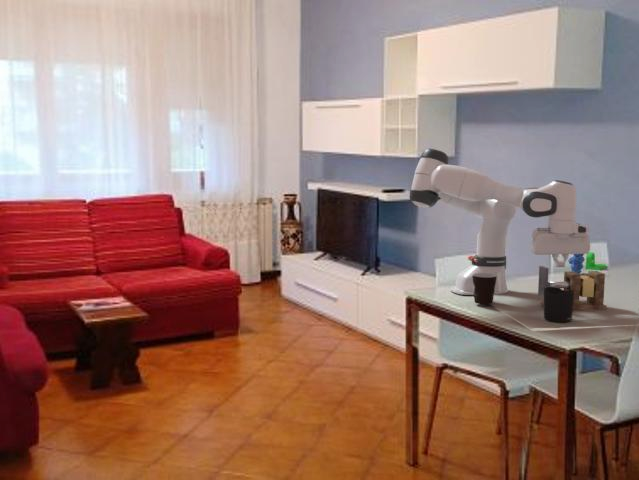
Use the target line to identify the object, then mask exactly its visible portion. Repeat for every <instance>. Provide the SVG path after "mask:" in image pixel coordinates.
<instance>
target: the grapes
mask: <svg viewBox="0 0 639 480" xmlns="http://www.w3.org/2000/svg"><path fill="white" fill-rule="evenodd" d="M572 255H573V256H572V257H569V258H568V259H567V262H568V264H569V265H570V266H569V267H570V269H571V271H573V272H575V273H578V274H581V272H582V269H583V268H584V264H583V263H584V262H585V261H586V258H584V256H585V254H572Z"/></svg>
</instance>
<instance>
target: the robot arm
mask: <svg viewBox="0 0 639 480" xmlns="http://www.w3.org/2000/svg"><path fill="white" fill-rule="evenodd" d="M413 175H414V176H413V179H412V183H411V188H410V189H411V190H409V201H410V202H411V203H413V204H414V205H415V206H416V207H419V208H424V209H425V208H432V207H434V206H435V205H436V204H437V203H441V204H443V205H446V206H449V207H450V208H451V207H452V208H454V209H457V210H460V211H462V212H465V213H467V214H468V215H469V214H470V215H472V216H474V217H477V218H479V219H482V225H481V228H480V231H479V232H478V233H477V234H476V235H477V236H476V254H475V255H474V256H473V255H470V254H469V255H468V256H467V259H468V260H469V261H470V262H471V264H469V266H468V267H466V268H465V269H463V270H462V271H460V272H459V273H458V275H457V276H456V280H455V285H450V287H449V290H450V291H451V292H453V293H455V294H458V295H462V296H465V295H466V296H474V289H473V277H472V274H475V273H489V274H495V275H497V278H496V284H495V291H494V295H500V294H506V293H508V292H509V289H508V285H507V279H506V278H507V277H506V269H507V256H506V247H507V246H506V245H507V236H508V235H507V234H508V231H509V226H510V224H511V221H512V219H513V218H514V217H515V215H516V213H517V207H518V208H519V209H521V211H523V212H524V213H525V214H526V215H527V216H528V217H530V218H534V219H538V218H542V217H548V224H547V225H548V226H547V227H537V228H535V229H534V230H532V233H531V234H532V242H531V249H530V250H531V253H532V254H534V255H538V256H539V255H542V256H543V255H545V256H547V255H550V256H551V257H552V260H553V261H554V267H555V268H565V266H566V262H567V261H568V260H569V256H570V255H573V254H584V255H587V254H588V253H589V252H590V250H591V238H590V235H589V234H588V233H589V231H590V228H589V227H588V226H585V225H582V224H581V223H576V215H575V212H576V207H577V190H576V189H577V188H576V186H575V185H574V184H573V183H571V182H568V181H565V180H558V179H555V180H552V181H551V182H550V183H548V184H546V185H544V186H541V187H528V188H519V187H516V186H511V185H508V184H504V183H501V182H499V181H495V180H494V179H493V178H491V177H489V176H487V175H486V174H484V173H482V172H480V171H478V170H475V169H472V168H468V167H465V166H461V165H454V164H449V156H448V154H446V153H445V152H444V151H443V150H440V149H437V148H425V149H424V150H423V151H422V153H421V154H420V157H419V161H418V163H417V165H416V167H415V171H414V174H413ZM560 255H561V256H562V258H561V261H560V260H559V259H558V258H559V256H560Z"/></svg>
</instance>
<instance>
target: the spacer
mask: <svg viewBox="0 0 639 480" xmlns="http://www.w3.org/2000/svg"><path fill="white" fill-rule="evenodd" d="M580 282H581V288H580V296H579V297H580V298H587V297H593V293H594V279H593V278H591V277H588V275H581V278H580Z"/></svg>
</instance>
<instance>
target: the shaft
mask: <svg viewBox="0 0 639 480" xmlns="http://www.w3.org/2000/svg"><path fill="white" fill-rule="evenodd" d="M549 269H550V268H549V267H546V266H544V265H539V267H538V284H537V285H538V289H537V291H538V292H537V296H538V297H541V298H543V299H544V288H548V287H556V288H560V289H564V288H570V281H566V282H564V281H549ZM580 288H581V282H580Z"/></svg>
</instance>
